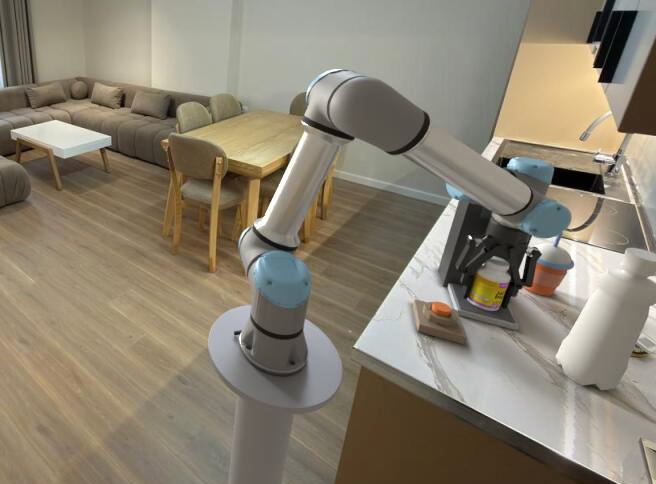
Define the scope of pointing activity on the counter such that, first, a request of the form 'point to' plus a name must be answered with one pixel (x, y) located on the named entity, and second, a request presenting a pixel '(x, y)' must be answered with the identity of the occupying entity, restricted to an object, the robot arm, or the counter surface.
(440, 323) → the control block
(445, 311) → the button
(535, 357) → the counter surface
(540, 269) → the cup with straw
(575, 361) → the bottle
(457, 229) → the coffee maker
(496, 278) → the supplement bottle
